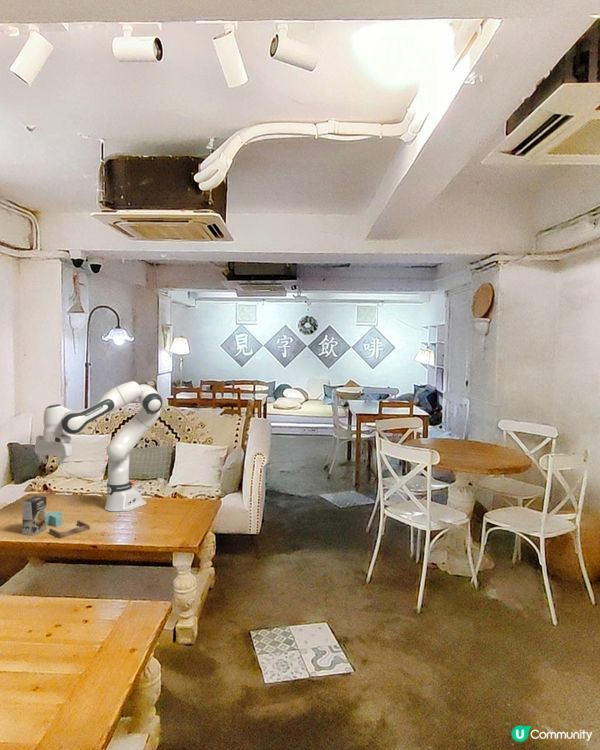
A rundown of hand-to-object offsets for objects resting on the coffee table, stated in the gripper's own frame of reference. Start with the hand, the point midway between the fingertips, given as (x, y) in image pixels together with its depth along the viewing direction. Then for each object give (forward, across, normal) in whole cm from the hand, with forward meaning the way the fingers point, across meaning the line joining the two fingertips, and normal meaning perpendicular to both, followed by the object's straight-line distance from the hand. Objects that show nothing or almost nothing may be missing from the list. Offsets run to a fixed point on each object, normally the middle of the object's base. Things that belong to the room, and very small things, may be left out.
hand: (52, 464), depth 253 cm
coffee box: (+30, +2, -13) cm, 33 cm away
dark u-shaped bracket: (+30, +16, -6) cm, 34 cm away
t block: (+30, +3, -1) cm, 30 cm away
